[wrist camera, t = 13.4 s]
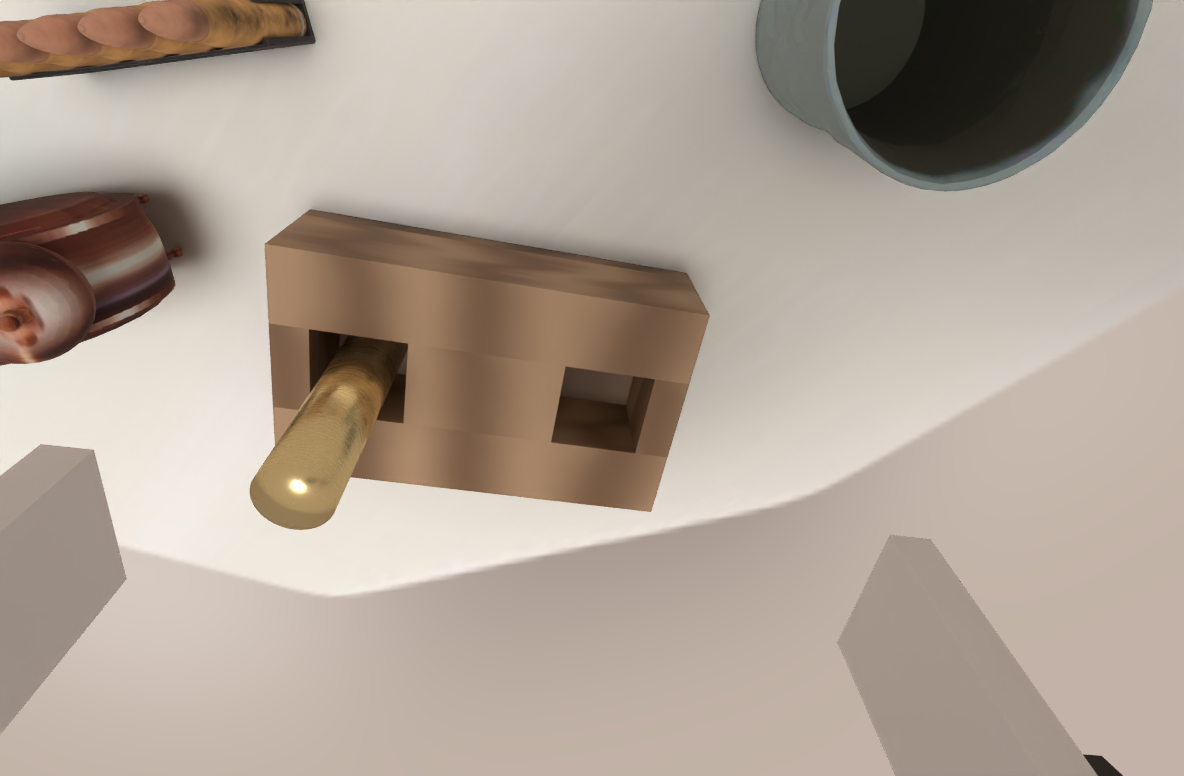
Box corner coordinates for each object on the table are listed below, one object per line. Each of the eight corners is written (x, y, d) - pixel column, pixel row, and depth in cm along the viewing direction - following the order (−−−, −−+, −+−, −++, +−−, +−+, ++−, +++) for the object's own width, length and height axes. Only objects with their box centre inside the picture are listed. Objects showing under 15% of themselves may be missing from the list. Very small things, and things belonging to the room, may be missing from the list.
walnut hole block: (686, 273, 36) (709, 315, 31) (638, 450, 41) (651, 511, 36) (310, 209, 33) (264, 244, 28) (313, 408, 39) (276, 468, 34)
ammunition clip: (85, 73, 30) (-169, 98, 19) (65, 27, 29) (-214, 27, 18) (316, 43, 30) (187, 51, 19) (303, -4, 29) (160, -22, 18)
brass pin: (412, 314, 35) (336, 469, 23) (409, 362, 36) (336, 533, 24) (355, 305, 35) (246, 459, 22) (354, 355, 36) (252, 525, 24)
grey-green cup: (893, 156, 33) (1049, 216, 23) (706, 116, 32) (781, 160, 22) (988, -80, 29) (1239, -141, 18) (773, -139, 27) (911, -242, 17)
